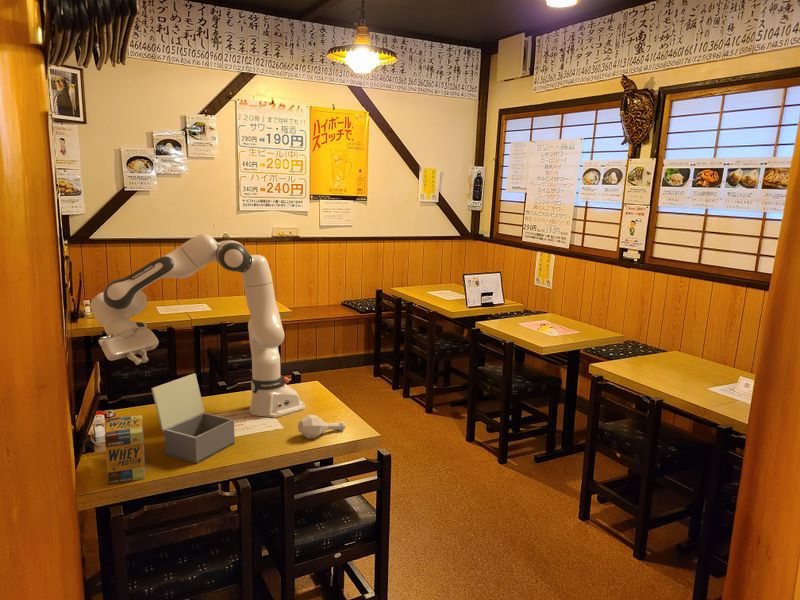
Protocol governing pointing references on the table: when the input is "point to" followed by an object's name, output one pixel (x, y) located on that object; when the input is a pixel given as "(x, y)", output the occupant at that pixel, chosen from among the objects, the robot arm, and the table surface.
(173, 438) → the storage box
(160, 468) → the table surface
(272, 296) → the robot arm
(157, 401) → the lid
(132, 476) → the protein box
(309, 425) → the chicken leg
